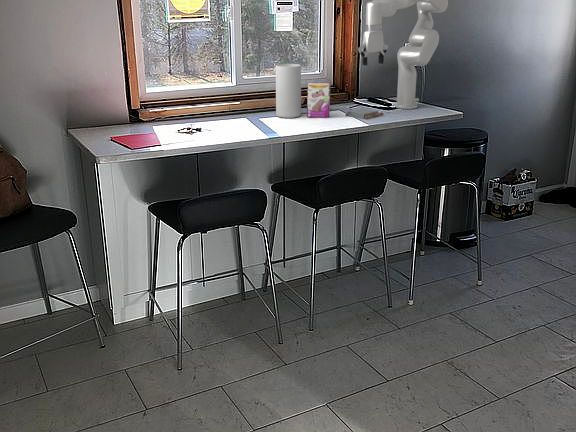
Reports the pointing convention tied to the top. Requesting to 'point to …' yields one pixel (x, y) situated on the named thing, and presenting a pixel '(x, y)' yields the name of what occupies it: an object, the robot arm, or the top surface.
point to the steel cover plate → (361, 113)
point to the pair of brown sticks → (371, 115)
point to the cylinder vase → (288, 90)
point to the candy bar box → (318, 100)
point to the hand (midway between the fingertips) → (372, 64)
